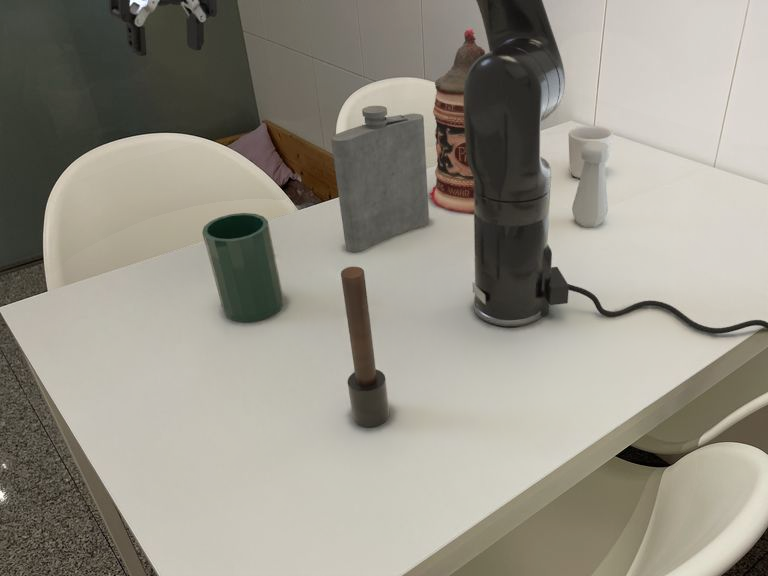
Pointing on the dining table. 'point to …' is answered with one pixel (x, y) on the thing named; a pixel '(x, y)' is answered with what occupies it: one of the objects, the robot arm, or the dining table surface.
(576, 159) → the cup
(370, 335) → the bottle brush
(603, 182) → the salt shaker
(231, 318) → the green cylindrical holder
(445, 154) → the beer stein
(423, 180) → the hip flask
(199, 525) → the dining table surface
